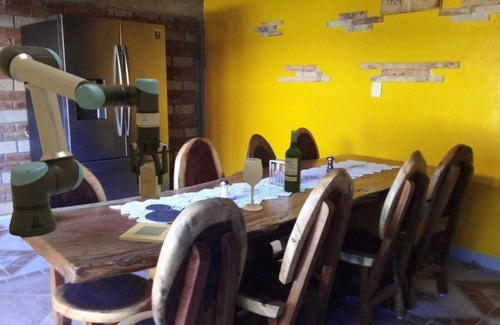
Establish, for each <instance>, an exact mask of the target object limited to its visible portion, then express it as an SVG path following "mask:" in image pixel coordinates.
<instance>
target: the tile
mask: <svg viewBox="0 0 500 325" xmlns="http://www.w3.org/2000/svg"><path fill="white" fill-rule="evenodd" d="M171 225H172V224H168V223H167V224H166V223H155V222H154V223H152V222H150V223H149V222H137V223H136V224H135V225H133V226H132V227H131V228H129V229H128V230H127V231H125V232H124V233H123V234H121V235H119V236H118V240H119V241H130V242H131V241H132V242H144V243H155V244H164V243H163V241H164V239H165V236H166V234H167V232H168V230H169V228H170V226H171Z"/></svg>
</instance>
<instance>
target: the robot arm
mask: <svg viewBox="0 0 500 325" xmlns="http://www.w3.org/2000/svg"><path fill="white" fill-rule="evenodd" d="M0 73H1V74H2V75H3V76H4V77H6V78H8V79H10V80H13V81H15V82H17V83H23V86H24V88H26V89H28V90H29V92H30V97H31V103H32V106H33V111H34V117H35V121H36V126H37V132H38V135H39V141H40V145H41V150H42V156H41V158H40V159H39V161H31V162H25V163H21V164H18V165H16V166H14V167H13V168H12V169H11V171H10V174H9V175H10V180H9V182H10V188H11V200H12V214H11V218H10V222H9V224H8V232H9V235H11V236H13V237H34V236H35V237H36V236H40V234H42V235H45V233H46V234H48V233H51V232H53V231H55V230H56V229H57V228H58V223H57V219H56V218H55V214H54V212H53V210H52V208H51V201H50V199H51V198H50V197H52V196H54V195H58V194H63V193H66V192H67V193H68V192H71V191H73V190H75V189H76V188H78V187H80V185H81V183H82V182H83V179H84V169H83V166H82V165H81V163H80V162H79V161H78V160H76V159H75V158H74V153H71V152H70V151H69V150H68V144H67V141H66V136H65V129H64V124H63V121H62V115H61V109H60V105H59V100H58V95H59V96H62V97H64V98H66V99H69V100H72V101H74V102H76V103H77V104H78V106H79V107H80V108H81V109H83V110H99V109H100V110H101V109H113V108H135V111H136V112H135V115H136V119H135V120H136V125H138V126H137V127H136V137H137V138H136V142H132V143H129V144H128V148H129V151H130V173H132V174H135V175H136V184H137V185H138V186H139V187H138V188H139V189H138V190H139V191H138V192H139V195H141V181H140V166H142V165H145V159H146V157H147V154H150V156H151V158H152V161H153V165H155V168H156V172H157V175H156V176H155V193H156V195H159V196H160V194H161V192H162V191H161V185H163V183H164V179H163V178H164V175H166V174H168V172H169V159H168V151H169V147H170V145H169V144H164V143H162V141H161V129H160V128H161V127H160V124H161V122H160V89H159V87H160V86H159V81H158V79H155V78H136V79H135V80H134V82H135V83H134V84H119V83H118V84H117V83H116V84H115V83H112V84H105V83H104V84H102V83H101V84H99V83H96V82H93V81H90V80H87V79H86V78H82V77H80V76H78V75H75V74H72V73H69V72H66V71H64V70H63V63H62V59H61V58H60V56H59V55H58V54H57V53H56V52H55V51H54V50H52V49H50V48H45V47H42V46H31V45H30V46H29V45H21V44H11V45H7V46H5V47H3V48H2V49H0ZM137 149H139V154H138V151H137ZM159 149H160V150H161V158H160V155H159ZM138 155H139V157H138ZM160 159H161V161H160Z"/></svg>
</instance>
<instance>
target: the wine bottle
mask: <svg viewBox="0 0 500 325" xmlns="http://www.w3.org/2000/svg"><path fill="white" fill-rule="evenodd" d="M297 133H298V132H297V130H291V131H290V145H289V148H288V149H287V150H286V151H285V152H284V153H285V154H284V186H283V191H284V190H285V192H286V193H290V192H292V193H294V194H297V193H299V191H301V180H302V178H301V175H302V151H301V150H300V149H299V148H298V146H297V141H298V140H297V138H298V137H297Z"/></svg>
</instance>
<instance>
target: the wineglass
mask: <svg viewBox="0 0 500 325" xmlns="http://www.w3.org/2000/svg"><path fill="white" fill-rule="evenodd" d="M243 162H244V163H243V169H242V176H243V177H242V179H243V181H244V182H245V183H247V185H249V186H250V190H251V194H250V195H251V196H250V197H251V198H250V204H246V205H243V206H242V207H241V209H243V211H248V212H256V211H261V210H263V207H262V206H261V205H259V204H255V199H254V197H255V196H254V192H255V191H254V190H255V186H256V185H258V184H259V183H260V182H261V181H262V179H263V164H262V159H260V158H253V157H251V158H249V157H248V158H245V159H244V161H243Z"/></svg>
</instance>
